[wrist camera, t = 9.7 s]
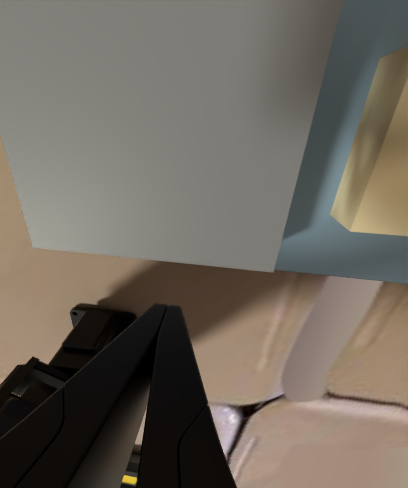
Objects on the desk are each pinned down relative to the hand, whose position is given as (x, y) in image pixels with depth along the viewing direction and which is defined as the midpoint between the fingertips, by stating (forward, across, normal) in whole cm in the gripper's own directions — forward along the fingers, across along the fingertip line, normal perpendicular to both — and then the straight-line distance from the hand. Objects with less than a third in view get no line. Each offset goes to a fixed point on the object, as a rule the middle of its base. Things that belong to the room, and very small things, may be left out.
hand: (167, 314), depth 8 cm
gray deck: (+11, +3, -5) cm, 12 cm away
